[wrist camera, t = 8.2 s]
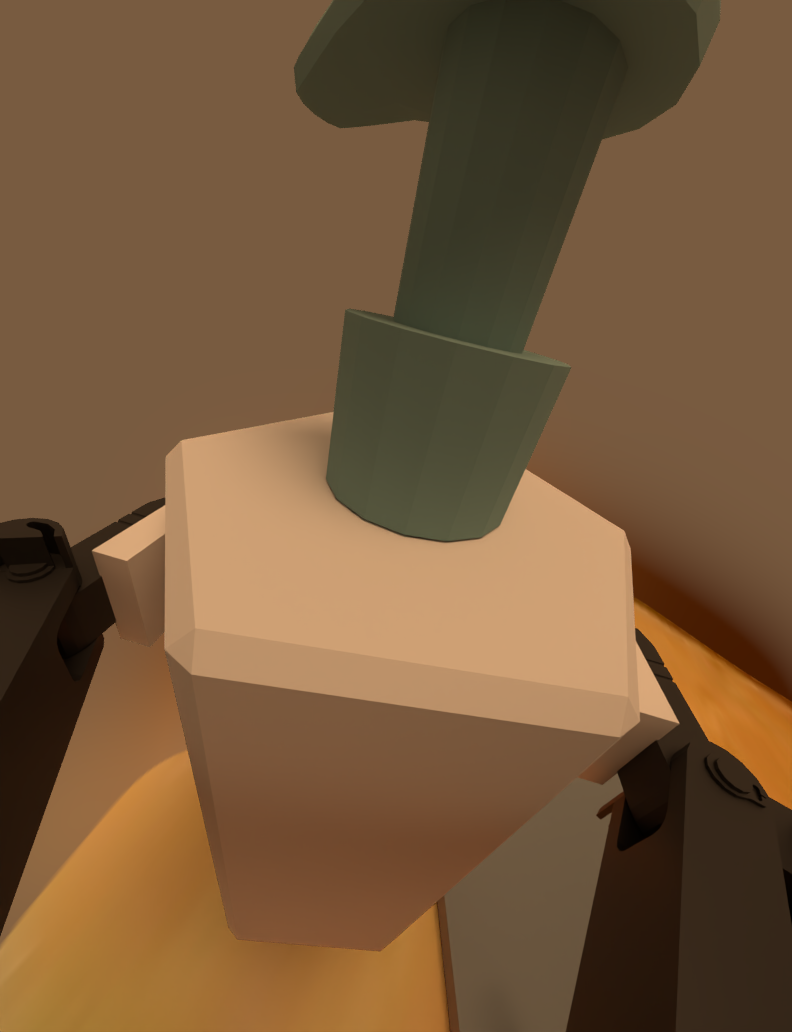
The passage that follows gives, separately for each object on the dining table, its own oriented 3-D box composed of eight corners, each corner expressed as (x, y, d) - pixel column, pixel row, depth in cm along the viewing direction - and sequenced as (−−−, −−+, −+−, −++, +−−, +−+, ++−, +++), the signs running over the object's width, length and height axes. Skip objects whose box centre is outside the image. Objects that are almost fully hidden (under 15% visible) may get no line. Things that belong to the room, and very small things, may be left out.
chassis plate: (610, 722, 34) (649, 685, 31) (837, 1134, 17) (977, 1152, 14) (418, 709, 31) (437, 666, 28) (466, 1194, 14) (532, 1237, 11)
